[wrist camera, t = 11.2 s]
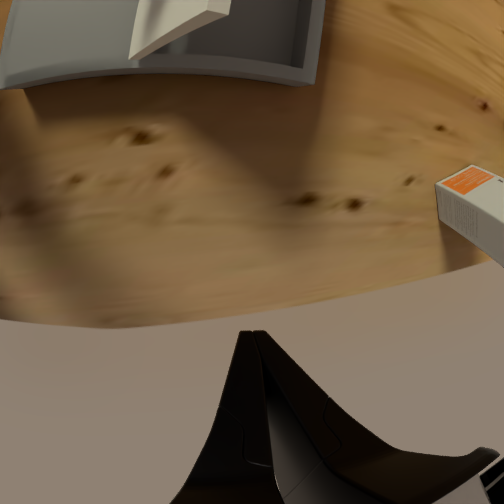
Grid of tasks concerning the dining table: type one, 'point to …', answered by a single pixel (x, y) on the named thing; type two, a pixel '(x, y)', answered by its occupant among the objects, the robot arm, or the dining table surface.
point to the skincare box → (474, 208)
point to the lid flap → (171, 22)
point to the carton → (168, 56)
